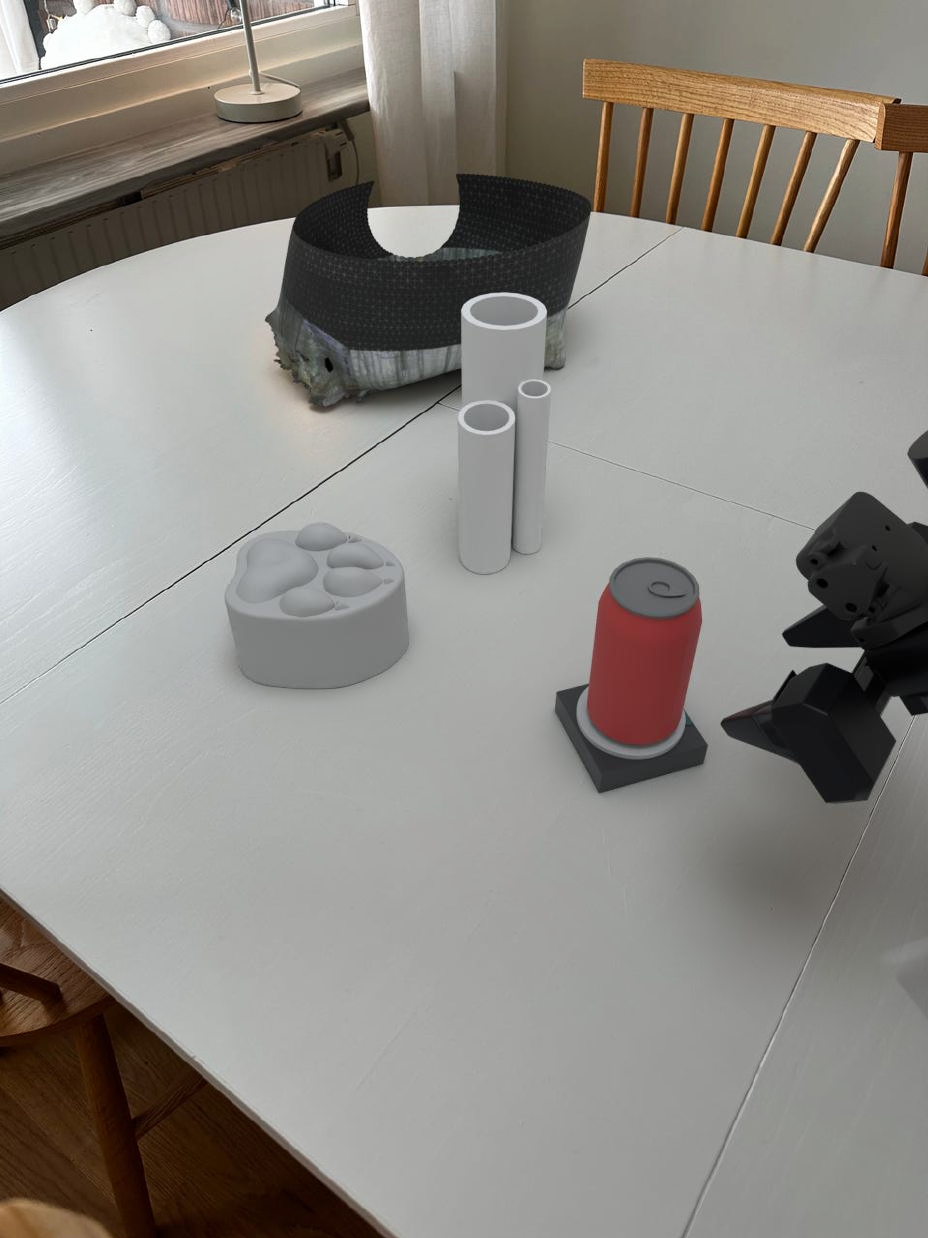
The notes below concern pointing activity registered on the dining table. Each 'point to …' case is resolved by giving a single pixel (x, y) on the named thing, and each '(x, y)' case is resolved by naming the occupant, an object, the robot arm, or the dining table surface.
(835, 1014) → the dining table surface
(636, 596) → the beer can
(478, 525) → the vase
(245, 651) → the lumpy-topped squat cylinder
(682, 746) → the scale
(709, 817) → the dining table surface
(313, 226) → the basket
